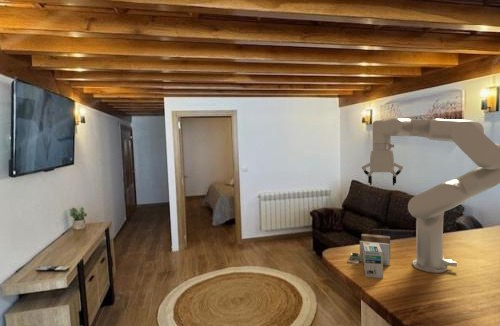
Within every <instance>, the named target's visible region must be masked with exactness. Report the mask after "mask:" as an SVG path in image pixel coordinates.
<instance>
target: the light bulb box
mask: <svg viewBox="0 0 500 326" xmlns="http://www.w3.org/2000/svg"><path fill="white" fill-rule="evenodd" d="M363 259H364V262H363V268H364V274H365V277H366V278H375V279H376V278H377V279H384V264H383V252H382V250H381V248H380V245H379V243H365V242H363Z"/></svg>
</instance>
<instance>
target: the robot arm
mask: <svg viewBox="0 0 500 326" xmlns="http://www.w3.org/2000/svg"><path fill="white" fill-rule="evenodd" d="M371 127H372V128H371V129H372V131H371V132H372V150H371V151H370V156H369V157H370V158H369V163H367V164H365V165H362V166H361V169H362V171H363V173H364V174H365V175H366V176H367V183H368V184H369V185H370V186H371V185H372V183H373V176H372V174H373V173H391V174H392V186H395V184H397V176H398V175H399V174H401V173H402V170H403V169H404V166H402V165H400V164H398V163H396V162H395V159H394V158H395V157H394V151H393V150H391V149H392V148H395V144H392V143H391V141H392V140H391V136H393V137H394V136H395V137H399V136H402V137H403V136H408V137H420V138H421V137H422V138H425V139H428V140H430V141H431V140H432V141H440V142H450V143H455V145H456V146H458V148H459V149H460V150H461V151H462V152H463V153H464V155H466V156H467V157H468V158H469V159H470V160H471V161H472V162H473V163H474V164H475V165H476V166H477V167H475V168H474V169H471V170H470V171H468V172H466V173H464V174H462V175H460V176H457V177H456V178H453V179H449V180H446V181H444V182H441V183H439V184H436V185H434V186H433V187H431V188H429V189H427V190H424V191H423V192H421V193H419V194H417V195H415V196H413V197H412V198H411V199H409V201H408V204H407V211H408V213H409V214H410V215H411V216H412V217H413V218H416V220H415V221H416V223H415V225H416V226H415V228H416V229H415V231H416V232H415V233H416V234H415V237H416V238H415V240H416V241H415V245H416V248H415V249H416V251H415V252H416V253H415V254H416V258H415V259H413V260H412V263H411V264H412V266H413V267H414V268H416V269H418V270H419V271H422V272H427V273H433V274H434V273H435V274H441V273H445V272H447V271H448V266H450V267H455V268H456V267H458V264H457V261H453V260H452V259H446V258H445V257H444V237H443V236H444V233H443V232H444V216H445V212H446V211H450V210H452V209H454V208H456V207H457V206H460V205H461V204H463V203H465V202H466V201H467V200H469V199H471V198H472V197H476V196H478V195H479V194H481V193H483V192H487V191H488V190H490V189H492V188H494V187H496V186H498V185H499V184H500V143H495V142H494V141H492V139H491V138H489V137H488V136H487V134H485V128H484V126H483V124H482V123H480V122H479V121H476V120H470V119H447V118H445V119H444V118H432V119H419V118H418V119H417V118H416V119H415V118H403V117H402V118H401V117H399V118H397V117H395V118H391V119H381V120H374V121H373V122H372V125H371ZM368 167H369V170H370V171H368V170H367V168H368ZM395 167H396V168H398V170H397V171H395Z"/></svg>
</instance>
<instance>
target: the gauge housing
mask: <svg viewBox="0 0 500 326" xmlns="http://www.w3.org/2000/svg"><path fill="white" fill-rule="evenodd" d="M360 238H361V240H360V241H366V242H376V243H386V244H390V245H391V236H389V235H380V234H369V233H362V234H361V237H360ZM352 253H353V252H350V255H349V257H348V260H347V263H348V264H357V265H359V263H360V260H357V259H350V256H351V257H359V258H360V253H358V256H357V255H352Z"/></svg>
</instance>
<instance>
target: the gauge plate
mask: <svg viewBox="0 0 500 326" xmlns="http://www.w3.org/2000/svg"><path fill="white" fill-rule="evenodd" d="M363 242H365V243H376V242H366V241H361V240H359V254H360V258H359V257H351V256H350V255H349V257H350V259H357V260H359V262H362V263H364V259H363ZM379 245H380V248H381V250H382V252H383V266H384V265H385V266H390V265H391V263H390V261H391V243H390V244H386V243H379Z"/></svg>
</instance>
